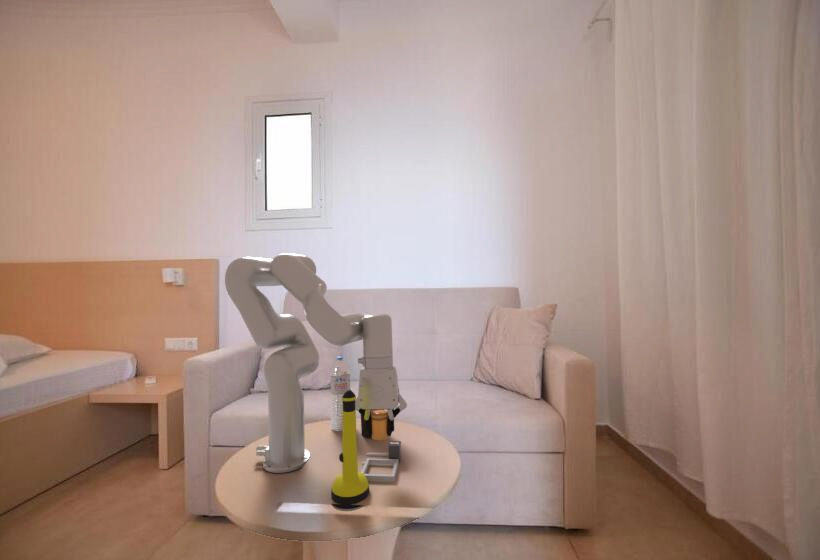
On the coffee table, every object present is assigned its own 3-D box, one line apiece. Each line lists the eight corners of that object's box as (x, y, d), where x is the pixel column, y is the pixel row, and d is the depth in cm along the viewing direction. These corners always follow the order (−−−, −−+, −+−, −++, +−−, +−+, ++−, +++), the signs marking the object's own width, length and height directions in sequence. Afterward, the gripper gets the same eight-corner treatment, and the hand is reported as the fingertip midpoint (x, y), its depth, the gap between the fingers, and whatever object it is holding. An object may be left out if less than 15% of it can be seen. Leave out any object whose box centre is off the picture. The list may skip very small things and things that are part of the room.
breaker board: (338, 485, 87) (338, 474, 87) (353, 457, 101) (353, 448, 101) (395, 487, 86) (394, 476, 86) (401, 459, 100) (401, 449, 100)
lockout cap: (373, 433, 93) (372, 410, 93) (390, 433, 92) (389, 410, 93) (370, 440, 88) (369, 416, 89) (387, 440, 88) (387, 416, 88)
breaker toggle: (388, 462, 95) (388, 445, 95) (390, 457, 98) (390, 440, 98) (399, 463, 95) (399, 445, 95) (401, 457, 98) (400, 440, 98)
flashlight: (369, 384, 86) (333, 384, 86) (366, 395, 77) (325, 396, 77) (371, 487, 86) (334, 488, 86) (368, 510, 77) (326, 511, 77)
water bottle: (327, 434, 117) (326, 358, 118) (335, 426, 124) (334, 354, 125) (347, 435, 116) (346, 359, 117) (353, 427, 123) (352, 355, 123)
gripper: (342, 366, 88) (344, 440, 88) (409, 365, 86) (411, 440, 86) (350, 359, 95) (352, 428, 95) (412, 359, 94) (414, 428, 93)
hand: (380, 433), depth 90 cm, fingers closed on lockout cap, 4 cm apart
